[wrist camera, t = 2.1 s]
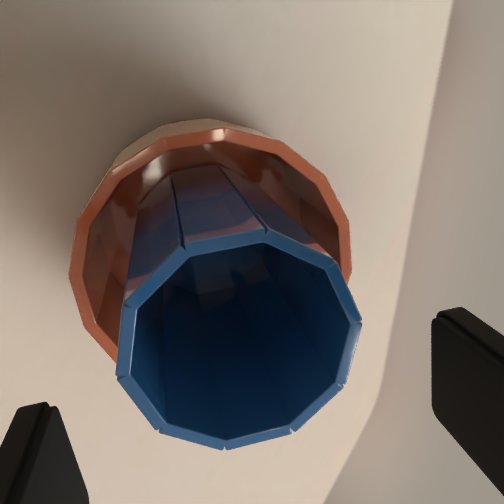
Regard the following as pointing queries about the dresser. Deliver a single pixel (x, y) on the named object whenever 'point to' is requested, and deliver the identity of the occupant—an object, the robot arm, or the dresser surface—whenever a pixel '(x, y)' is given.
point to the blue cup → (230, 314)
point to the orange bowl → (164, 163)
